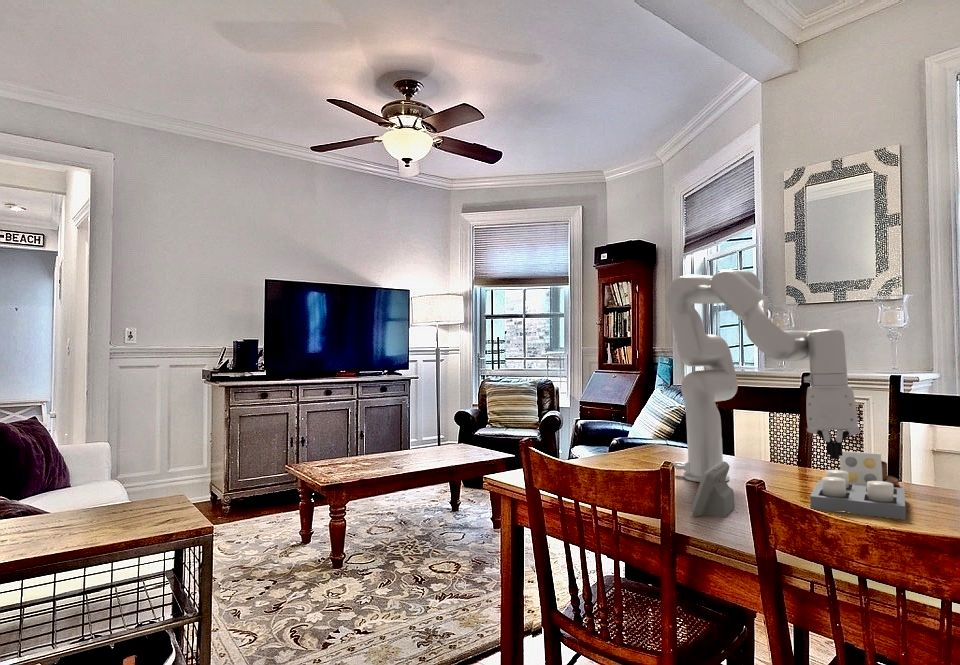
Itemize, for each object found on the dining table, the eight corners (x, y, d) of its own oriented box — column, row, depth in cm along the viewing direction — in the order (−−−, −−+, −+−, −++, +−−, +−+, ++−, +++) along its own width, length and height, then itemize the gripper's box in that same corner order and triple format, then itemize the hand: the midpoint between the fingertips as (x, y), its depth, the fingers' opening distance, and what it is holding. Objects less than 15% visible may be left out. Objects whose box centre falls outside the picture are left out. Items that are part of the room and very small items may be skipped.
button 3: (867, 500, 130) (866, 484, 130) (868, 495, 134) (867, 480, 134) (893, 502, 127) (892, 486, 128) (893, 497, 131) (892, 482, 131)
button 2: (825, 486, 143) (824, 472, 143) (827, 482, 147) (826, 469, 147) (848, 489, 140) (847, 474, 140) (849, 484, 144) (848, 470, 144)
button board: (810, 508, 135) (810, 496, 135) (819, 491, 150) (818, 480, 150) (905, 520, 124) (905, 506, 125) (905, 500, 139) (904, 488, 139)
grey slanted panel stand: (711, 500, 146) (709, 458, 146) (747, 507, 139) (745, 462, 139) (678, 514, 135) (676, 469, 135) (715, 522, 128) (713, 474, 128)
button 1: (821, 495, 136) (820, 480, 136) (823, 490, 140) (822, 476, 140) (845, 497, 133) (844, 482, 133) (846, 493, 137) (846, 478, 137)
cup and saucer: (908, 490, 148) (907, 466, 149) (856, 490, 151) (855, 466, 151) (885, 479, 160) (884, 457, 160) (838, 479, 163) (836, 457, 163)
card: (838, 490, 150) (836, 452, 150) (839, 488, 153) (837, 450, 153) (885, 495, 144) (883, 455, 144) (885, 492, 147) (883, 453, 147)
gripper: (791, 382, 138) (797, 459, 137) (865, 381, 129) (872, 463, 128) (795, 380, 144) (801, 454, 143) (867, 379, 135) (873, 458, 134)
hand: (835, 458), depth 136 cm, fingers closed
